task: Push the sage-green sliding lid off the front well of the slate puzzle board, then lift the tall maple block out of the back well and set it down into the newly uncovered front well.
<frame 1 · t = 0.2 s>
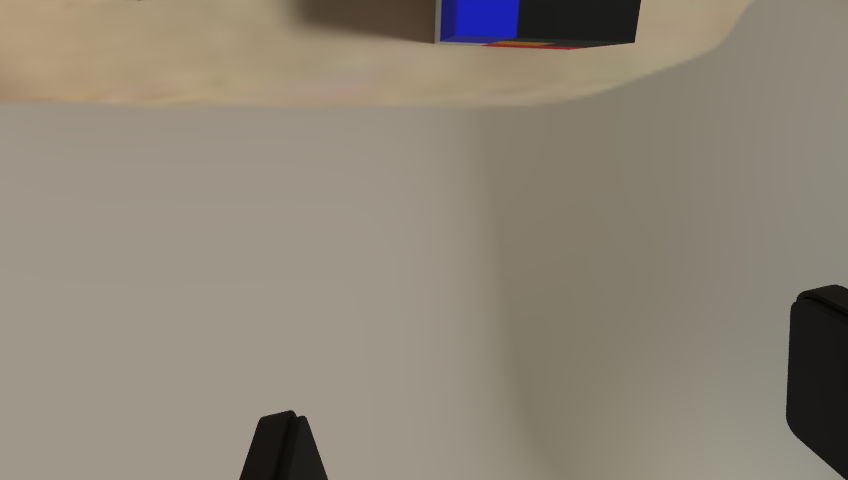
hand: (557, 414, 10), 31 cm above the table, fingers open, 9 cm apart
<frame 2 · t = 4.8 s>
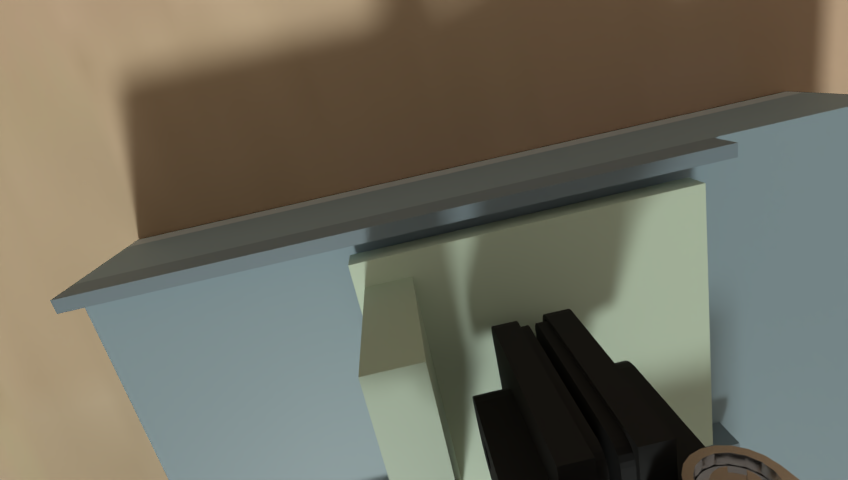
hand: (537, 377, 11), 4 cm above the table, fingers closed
sliding lid: (569, 400, 10), point 5 cm above the table, slide at 0.5 cm, touching gripper
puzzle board: (509, 406, 16), on the table
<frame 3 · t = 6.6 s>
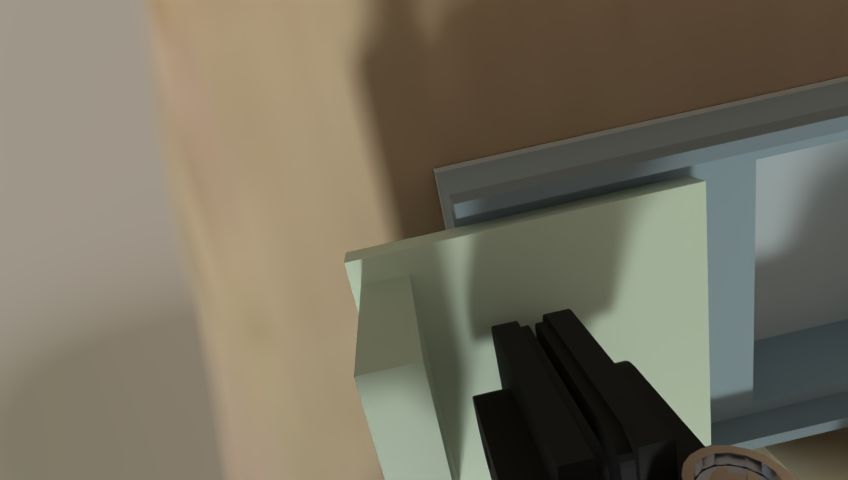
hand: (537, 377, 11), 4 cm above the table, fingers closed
maple block: (794, 451, 17), point 1 cm above the table, touching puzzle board
sliding lid: (567, 399, 10), point 5 cm above the table, slide at 8.7 cm, touching gripper
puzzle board: (754, 348, 16), on the table
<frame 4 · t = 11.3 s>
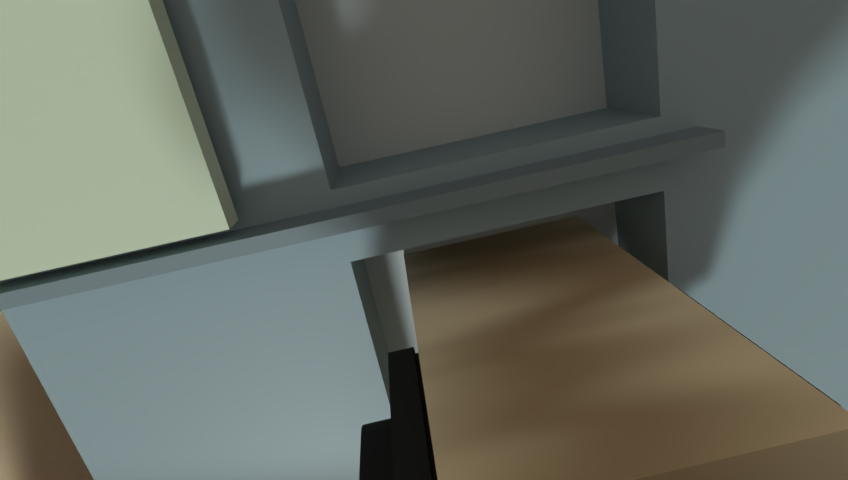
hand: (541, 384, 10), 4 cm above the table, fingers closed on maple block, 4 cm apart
maple block: (503, 313, 13), point 1 cm above the table, touching gripper, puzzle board
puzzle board: (435, 172, 13), on the table
when the fingers open (5 cm above the table, at t = 16.1 s): maple block drops 1 cm, resting on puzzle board.
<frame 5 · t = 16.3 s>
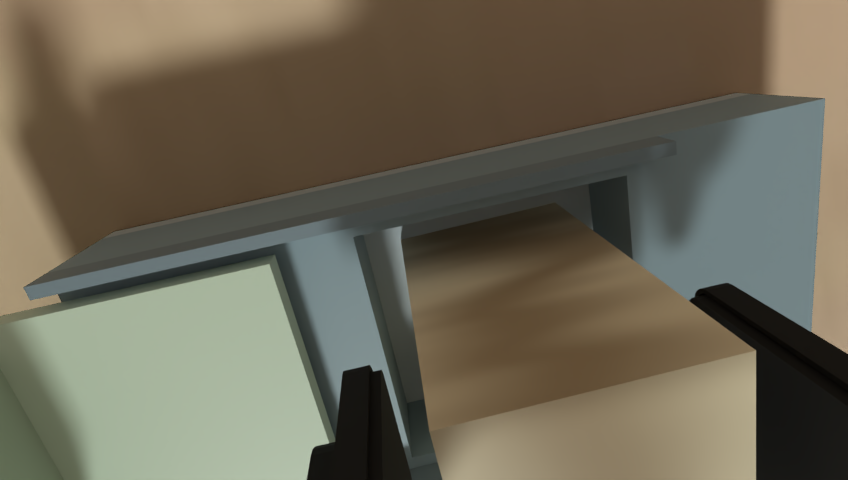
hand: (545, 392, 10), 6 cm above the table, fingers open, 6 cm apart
maple block: (491, 291, 15), point 1 cm above the table, touching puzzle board
sliding lid: (130, 472, 10), point 5 cm above the table, slide at 8.7 cm
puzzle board: (476, 394, 17), on the table
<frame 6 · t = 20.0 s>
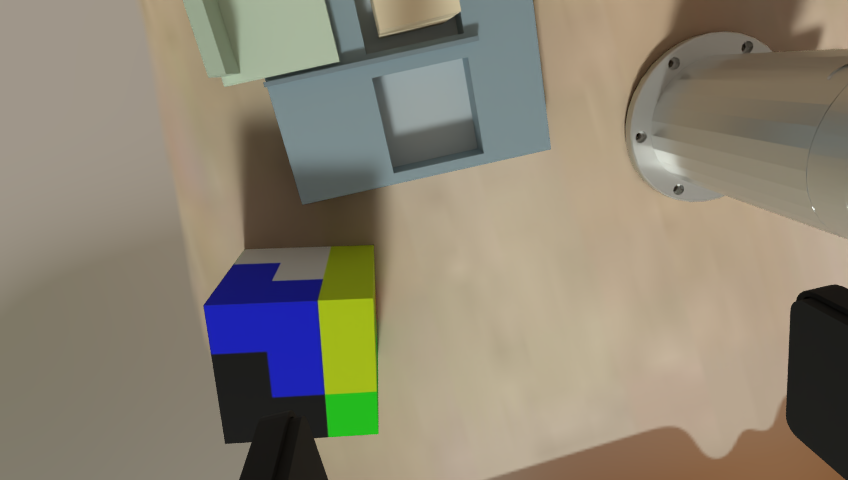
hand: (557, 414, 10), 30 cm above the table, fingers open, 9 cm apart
sliding lid: (261, 15, 29), point 5 cm above the table, slide at 8.7 cm
puzzle toy: (314, 303, 41), on the table
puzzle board: (400, 59, 36), on the table
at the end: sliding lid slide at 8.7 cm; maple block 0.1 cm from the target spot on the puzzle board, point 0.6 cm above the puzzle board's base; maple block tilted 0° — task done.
